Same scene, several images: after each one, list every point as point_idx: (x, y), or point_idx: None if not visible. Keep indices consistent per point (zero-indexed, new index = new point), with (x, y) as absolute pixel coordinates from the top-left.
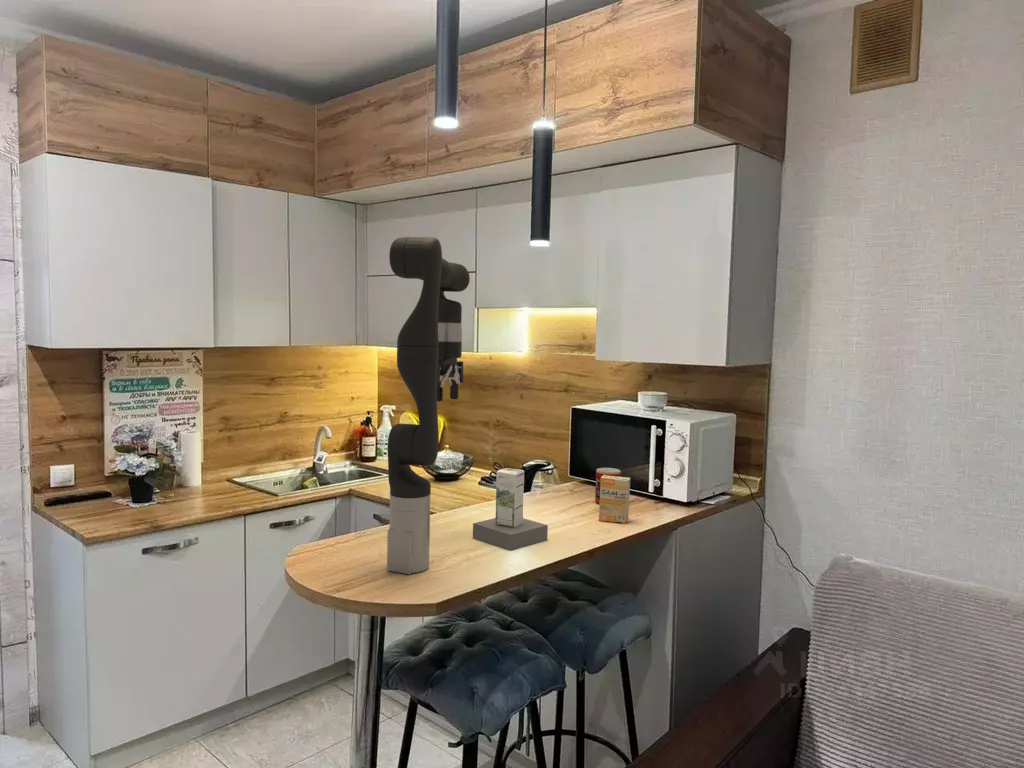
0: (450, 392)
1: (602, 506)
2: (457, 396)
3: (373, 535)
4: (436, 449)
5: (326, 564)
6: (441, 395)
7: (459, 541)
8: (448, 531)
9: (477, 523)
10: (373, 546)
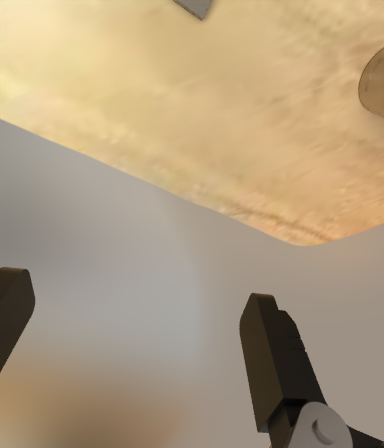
0: (11, 348)
1: None
2: (6, 279)
3: (236, 197)
4: None
5: (373, 195)
6: (283, 328)
7: (231, 42)
8: (174, 91)
9: (201, 5)
10: (289, 175)
